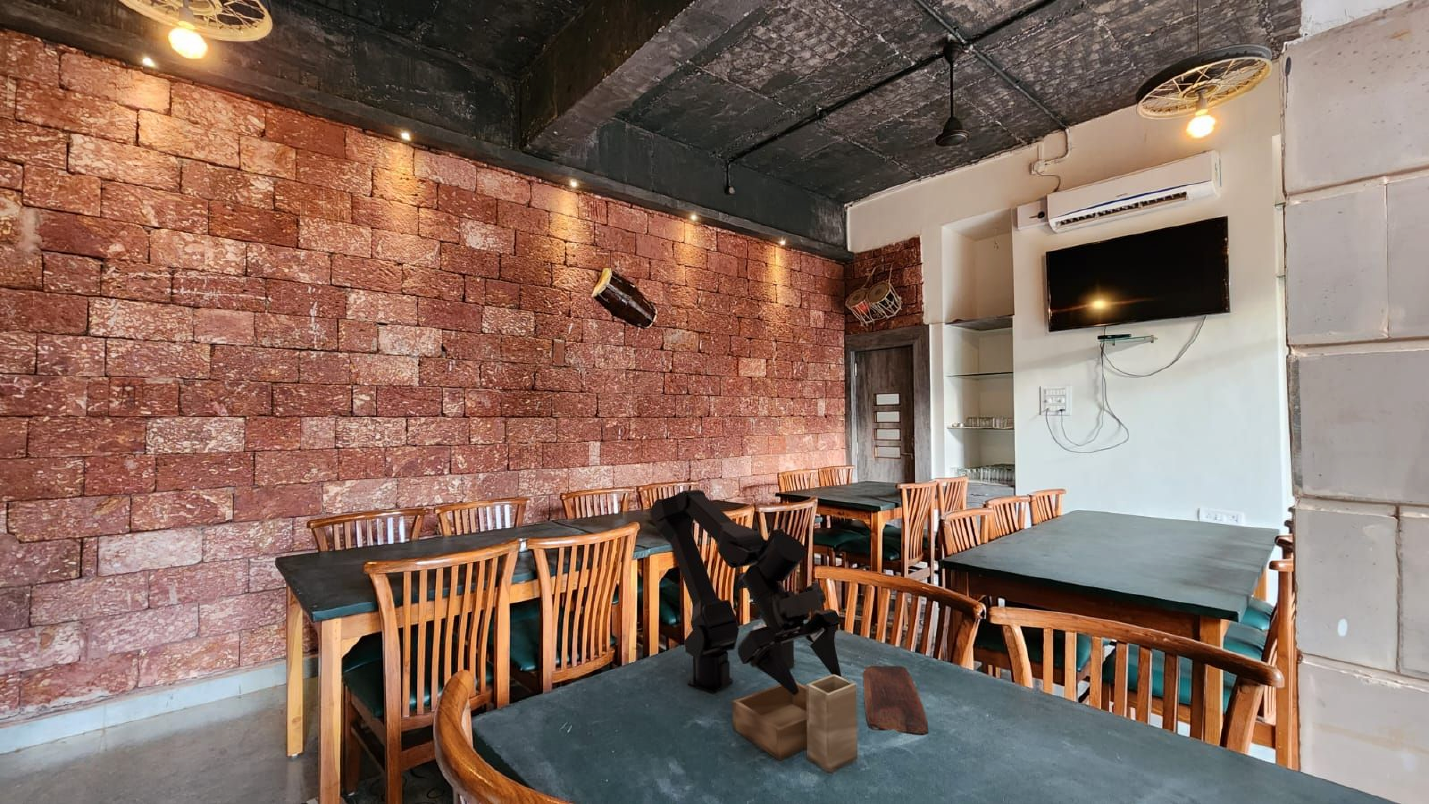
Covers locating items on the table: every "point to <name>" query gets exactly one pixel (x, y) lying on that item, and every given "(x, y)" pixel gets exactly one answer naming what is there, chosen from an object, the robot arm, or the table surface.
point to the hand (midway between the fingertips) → (818, 685)
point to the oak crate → (774, 720)
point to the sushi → (784, 649)
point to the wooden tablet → (893, 700)
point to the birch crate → (831, 722)
